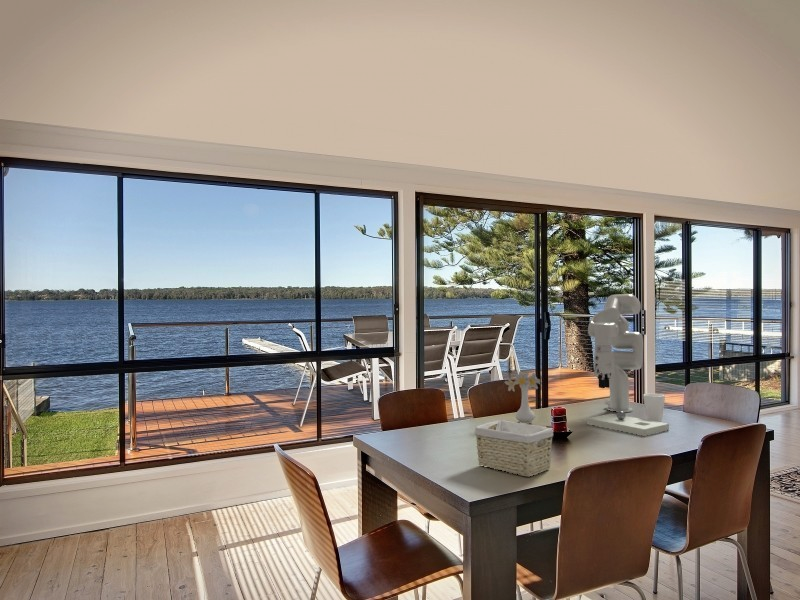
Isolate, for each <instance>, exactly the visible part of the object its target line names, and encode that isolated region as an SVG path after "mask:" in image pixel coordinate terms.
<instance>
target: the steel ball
mask: <svg viewBox="0 0 800 600" xmlns="http://www.w3.org/2000/svg"><path fill="white" fill-rule="evenodd" d="M616 414H617V415H616V416H617V418H618V419H619V420H623V419H625V417H626V416H627V414H626V412H622V411H619V412H616Z"/></svg>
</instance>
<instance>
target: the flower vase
mask: <svg viewBox="0 0 800 600" xmlns="http://www.w3.org/2000/svg"><path fill="white" fill-rule="evenodd" d="M506 379H507V380H505V381H504V385H507V386H508V388H507V391H508V392H510V391H513V392H515V386H516V385H519V388H520V390H521V403H520V408H519V409H518V410H517V412H516V413H515V418H516V420H517V421H518V423H519V422H521V423H531V422H532V423H533V421H534V420H535V418H536V415H535V412H534V411H533V410H532V408H531V407H530V405H529V389H532V388H534V389H535V390H538V389H539V387H538V384H539V385H541V379H540V378H538V377H537V375H536V373H535V372H534V371H532V374H531V375H530V376H529V372H528V371H527V372H524V373H523V371H521V370H520V371H518V373H517V374H516V375H515V378H514V381H513V380H512V379H510V378H509V377H508V376H506ZM532 423H531V424H532Z"/></svg>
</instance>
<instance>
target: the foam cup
mask: <svg viewBox="0 0 800 600" xmlns="http://www.w3.org/2000/svg"><path fill="white" fill-rule="evenodd" d="M665 401H666V396H665V394H662V393H652V392H651V393H644V394H643V402H644V408H645V415H646V420H651V421H656V422H662V423H663V417H664V408H665V407H664V406H665Z"/></svg>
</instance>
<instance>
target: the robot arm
mask: <svg viewBox="0 0 800 600" xmlns="http://www.w3.org/2000/svg"><path fill="white" fill-rule="evenodd" d="M641 307H642V306H641V301H640V300H639V299H638V298H637V296H636V295H634V294H630V293H626V294H625V293H624V294H623V293H622V294H611V295H609V296H608V297H607V299H606V302H605V305H604V308H603V310H601V311H599V312H597V313H595V314H594V315H593V316H592V317H591V318H590V320H589V324H588V328H587V334H588V335H589V337H590V338H594V356H593V371H594V373H593V375H594V376H596V378H597V380H598V388H600V389H605V388H608V389H609V400H605V402H604V405H606V406H607V405H608V406H607V407H606V410H608V411H609V410H610V411H609V412H613V411H616V412H615V413H618V412H619V411H622V412H624V413H630V412H632V411H633V408H632V407H630V391H629V389H630V383H629V381H630V380H629V376H628V374H627V373H626V371H624V370H634V371H635V370H640V369H641V368H642V367H643V363H644V360H643V359H644V357H643V356H644V338H643V335H642V334H641V333H640V332H638V331H629V329H630V328H629V325H630V323H629V322H628V320H627V319H626V318H625V317H624V316H623V315H638V314H639V313H640V312H641ZM612 349H615V350H614V351H612ZM626 350H631V351H626Z"/></svg>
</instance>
